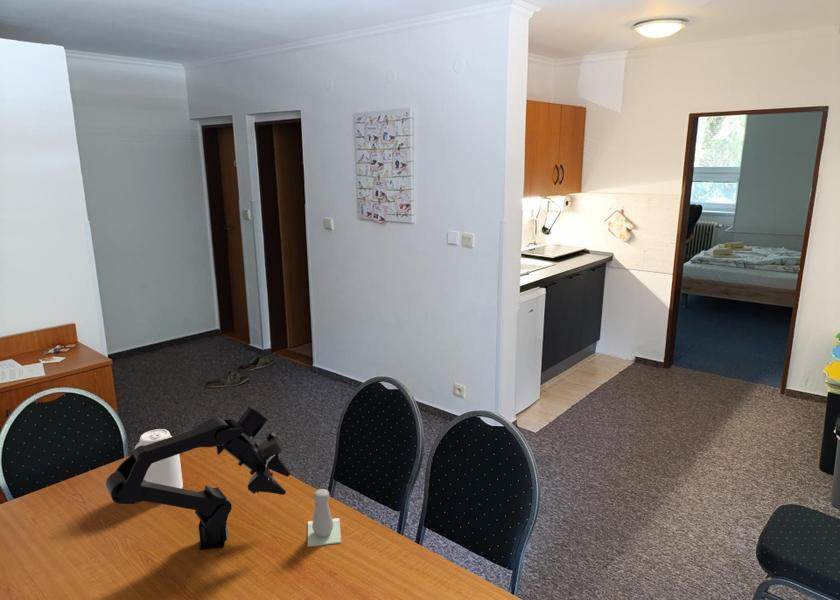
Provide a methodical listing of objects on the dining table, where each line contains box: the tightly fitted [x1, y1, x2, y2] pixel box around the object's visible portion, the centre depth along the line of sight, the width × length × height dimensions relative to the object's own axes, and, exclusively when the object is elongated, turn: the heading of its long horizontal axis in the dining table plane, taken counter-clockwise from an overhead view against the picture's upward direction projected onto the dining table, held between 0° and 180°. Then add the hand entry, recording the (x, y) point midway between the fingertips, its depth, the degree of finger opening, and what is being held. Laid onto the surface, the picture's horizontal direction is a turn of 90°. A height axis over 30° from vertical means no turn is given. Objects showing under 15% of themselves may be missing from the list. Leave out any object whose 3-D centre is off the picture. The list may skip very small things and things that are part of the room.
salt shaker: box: [312, 488, 333, 538], centre depth 159 cm, size 6×6×13 cm
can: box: [134, 428, 184, 489], centre depth 178 cm, size 12×12×20 cm
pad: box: [307, 517, 342, 548], centre depth 161 cm, size 9×11×1 cm
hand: (287, 484), depth 161 cm, fingers open, 9 cm apart
